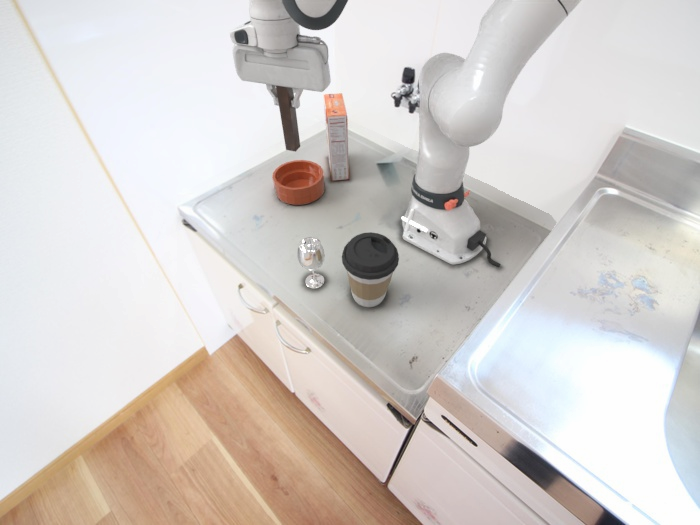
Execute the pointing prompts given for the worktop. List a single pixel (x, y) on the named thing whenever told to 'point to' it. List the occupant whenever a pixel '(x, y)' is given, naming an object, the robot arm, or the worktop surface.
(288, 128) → the stick
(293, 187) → the bowl
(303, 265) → the wineglass
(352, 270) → the coffee cup
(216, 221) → the worktop surface
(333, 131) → the cracker box
